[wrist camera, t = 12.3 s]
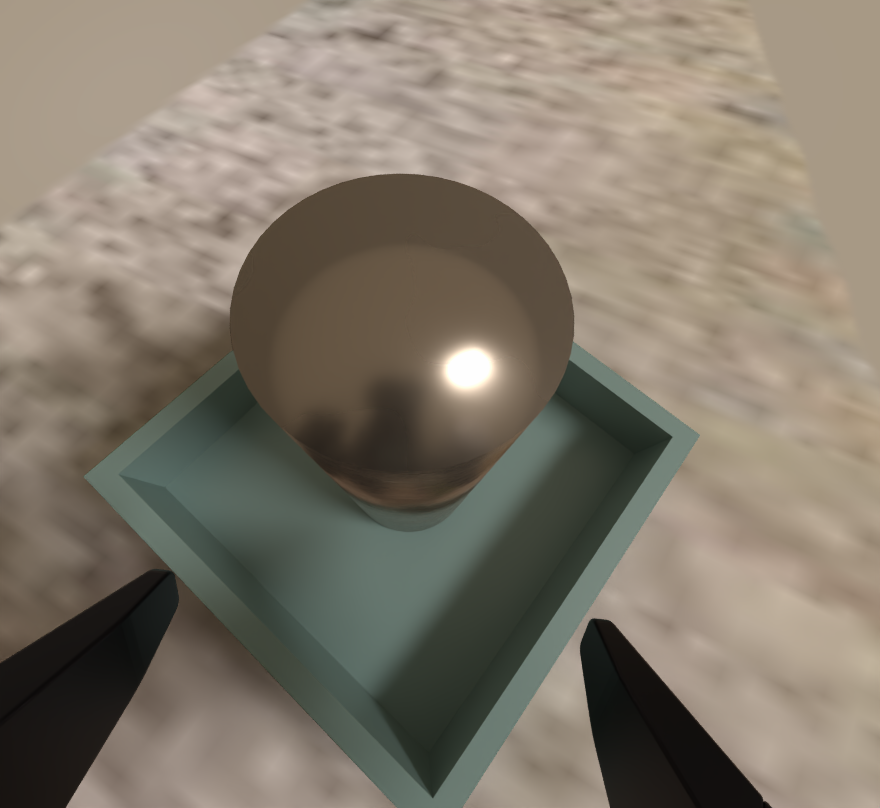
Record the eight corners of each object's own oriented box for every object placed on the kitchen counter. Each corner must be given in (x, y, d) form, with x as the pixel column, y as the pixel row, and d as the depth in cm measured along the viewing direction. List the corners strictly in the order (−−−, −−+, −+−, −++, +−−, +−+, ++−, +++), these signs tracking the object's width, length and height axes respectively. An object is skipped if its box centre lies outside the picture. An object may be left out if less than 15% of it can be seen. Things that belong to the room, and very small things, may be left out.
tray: (430, 781, 16) (435, 848, 12) (147, 491, 18) (83, 476, 15) (649, 456, 20) (700, 435, 17) (398, 264, 23) (396, 211, 19)
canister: (415, 558, 17) (422, 557, 5) (327, 477, 18) (153, 310, 6) (490, 466, 19) (635, 295, 7) (405, 395, 20) (396, 129, 7)
